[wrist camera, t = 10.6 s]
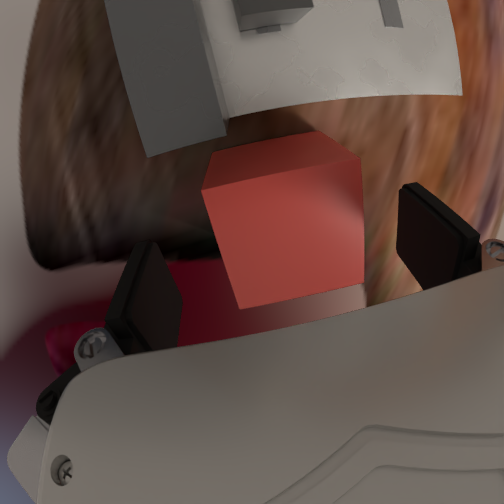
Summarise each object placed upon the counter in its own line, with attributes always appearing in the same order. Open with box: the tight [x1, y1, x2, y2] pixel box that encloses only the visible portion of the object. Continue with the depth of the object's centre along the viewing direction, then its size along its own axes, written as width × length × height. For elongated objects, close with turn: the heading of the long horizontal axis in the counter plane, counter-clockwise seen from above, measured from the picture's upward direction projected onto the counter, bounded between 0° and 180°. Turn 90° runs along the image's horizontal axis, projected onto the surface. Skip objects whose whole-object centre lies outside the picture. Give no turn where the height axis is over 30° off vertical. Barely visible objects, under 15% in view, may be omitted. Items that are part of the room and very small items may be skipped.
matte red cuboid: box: [201, 131, 364, 309], centre depth 15 cm, size 6×6×6 cm
